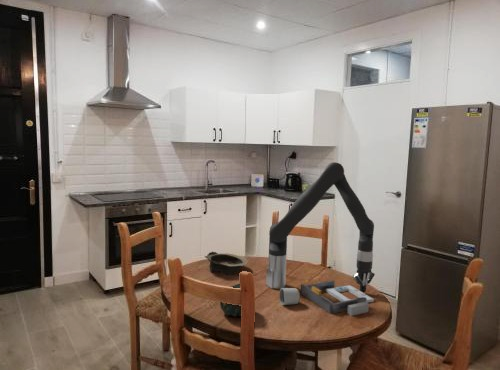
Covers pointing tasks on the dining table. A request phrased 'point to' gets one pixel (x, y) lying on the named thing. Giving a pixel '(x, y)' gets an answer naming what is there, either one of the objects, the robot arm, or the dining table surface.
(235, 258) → the stone bowl
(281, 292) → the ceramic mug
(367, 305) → the panel
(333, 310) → the rack bay
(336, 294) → the grey flat arch
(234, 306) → the squash
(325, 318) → the dining table surface
